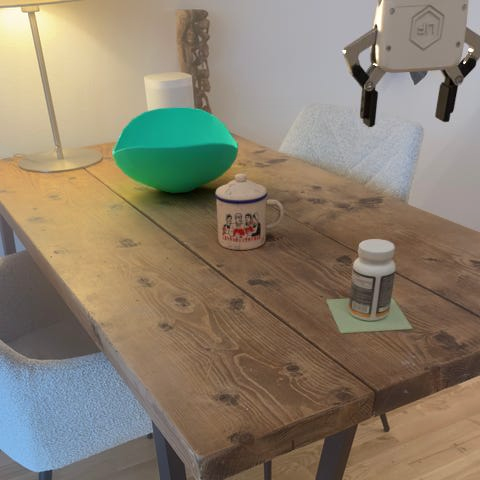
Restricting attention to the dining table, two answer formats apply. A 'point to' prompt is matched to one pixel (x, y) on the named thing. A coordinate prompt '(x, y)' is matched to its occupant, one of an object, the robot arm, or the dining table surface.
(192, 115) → the table top decor
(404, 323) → the mat
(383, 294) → the pill bottle
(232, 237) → the teacup with lid
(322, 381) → the dining table surface
